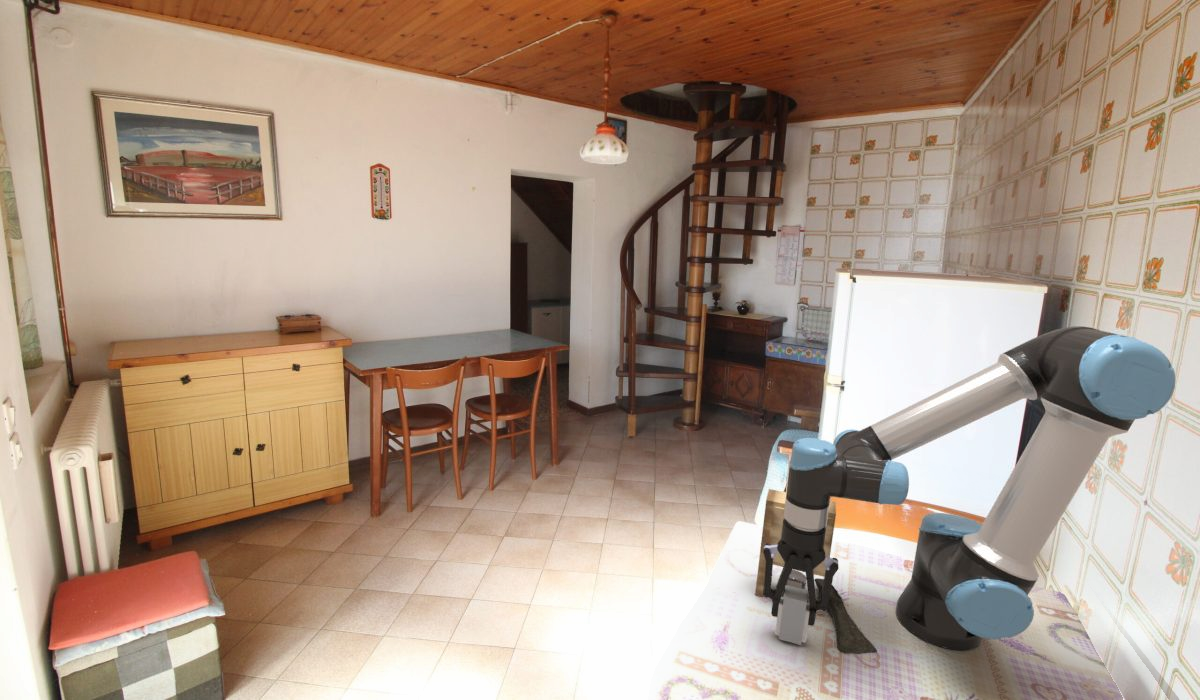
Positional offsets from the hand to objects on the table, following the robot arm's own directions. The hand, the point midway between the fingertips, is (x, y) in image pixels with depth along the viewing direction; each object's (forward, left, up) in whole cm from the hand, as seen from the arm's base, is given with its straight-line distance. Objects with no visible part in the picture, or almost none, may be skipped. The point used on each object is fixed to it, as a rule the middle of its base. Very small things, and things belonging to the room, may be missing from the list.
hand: (790, 634), depth 111 cm
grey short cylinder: (0, -17, -1) cm, 18 cm away
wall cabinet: (0, -14, -1) cm, 14 cm away
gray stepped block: (0, -6, 0) cm, 7 cm away
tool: (-10, -11, -2) cm, 15 cm away
